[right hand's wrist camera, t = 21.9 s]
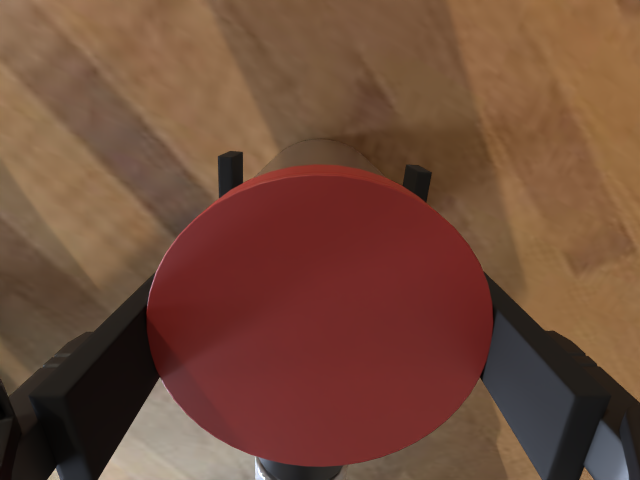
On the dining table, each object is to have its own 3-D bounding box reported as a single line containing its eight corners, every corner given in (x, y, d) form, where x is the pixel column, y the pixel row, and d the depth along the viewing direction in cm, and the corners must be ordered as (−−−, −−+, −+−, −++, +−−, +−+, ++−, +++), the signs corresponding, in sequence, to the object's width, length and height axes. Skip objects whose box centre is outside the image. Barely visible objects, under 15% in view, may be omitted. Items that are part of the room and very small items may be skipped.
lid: (506, 182, 11) (543, 196, 9) (432, 432, 14) (448, 477, 13) (162, 146, 10) (130, 153, 9) (177, 413, 14) (157, 456, 12)
